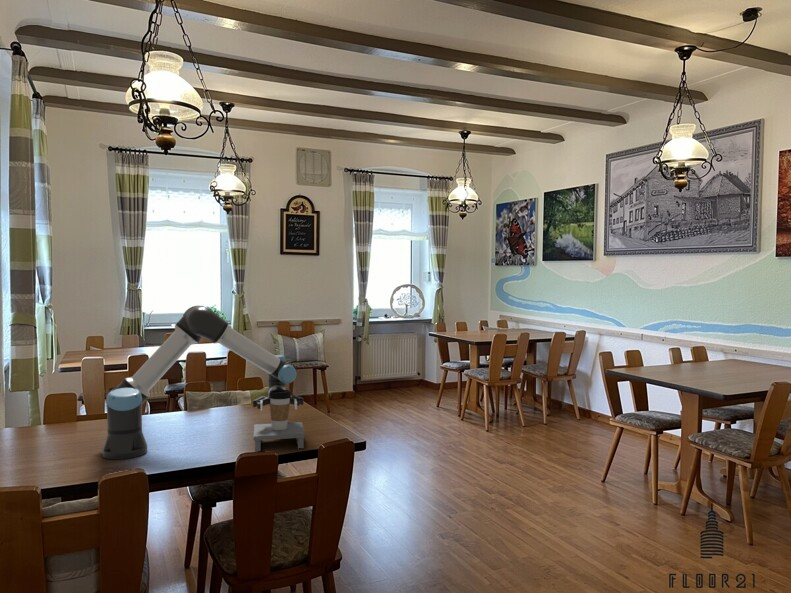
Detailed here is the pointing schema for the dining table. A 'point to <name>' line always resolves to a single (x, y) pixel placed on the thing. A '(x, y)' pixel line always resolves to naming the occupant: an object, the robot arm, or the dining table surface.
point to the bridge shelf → (278, 433)
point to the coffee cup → (279, 408)
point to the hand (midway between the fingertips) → (278, 406)
